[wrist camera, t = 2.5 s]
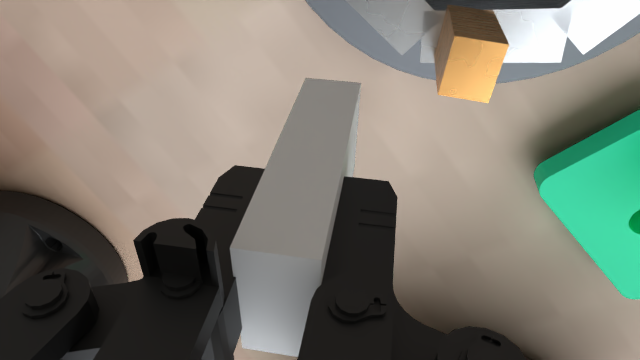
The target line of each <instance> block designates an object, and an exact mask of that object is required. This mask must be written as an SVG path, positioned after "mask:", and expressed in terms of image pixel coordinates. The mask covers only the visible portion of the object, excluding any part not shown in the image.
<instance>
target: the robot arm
mask: <svg viewBox="0 0 640 360" xmlns="http://www.w3.org/2000/svg"><path fill="white" fill-rule="evenodd" d="M360 89H361V83H357V82H345V81H334V80H323V79H312V78H305V81H304V83H303V85H302V87H301V90H300V92H299V94H298V96H297V99H296V101H295V103H294V105H293V108H292V110H291V112H290V114H289V116H288V119H287V121H286V123H285V125H284V128H283V130H282V132H281V134H280V137H279V139H278V141H277V143H276V146H275V148H274V150H273V152H272V154H271V157H270V159H269V161H268V163H267V166H266V168H265V169H262V168H253V167H244V166H236V165H235V166H234V167H232V168H231V169H230V170H228V171H227V172H226V173H224V174H223V175H222V176H220V177H219V178H218V180H217V182H216V183H215V185H214V187H213V189H212V191H211V192H210V196H208V198H207V199H206V201H205V203H204V205H203V208H201V210H200V212H199V213H198V215H197V217H196V219H195V220H193V219H189V218H176V219H170V220H166V221H162V222H158V223H156V224H154V225H152V226H150V227H149V228H147V229H145V230H143V231H142V232H141V233H140V234H139V235H138V236H137V237H136V238H135V239H134V240H133V241H134V245H135V248H136V252H137V255H138V258H139V262H140V265H141V269H142V272H143V275H144V277H143V278H142V279H140V280H137V281H132V282H128V277H127V273H126V270H125V267H124V265H123V263H122V261H121V259H120V257H119V256H118V254H117V253H116V251H115V250H114V249H113V247H112V246H111V245H110V244H109V242H108V241H107V240H106V239H105V238H104V237H103V236H102V235H101V234H100V233H99V232H98V231H96V230H95V229H94V228H93V227H92V226H90V225H89V224H88V223H87V222H85V221H84V220H82V219H81V218H79V217H78V216H76V215H75V214H73V213H71V212H70V211H68V210H66V209H64V208H62V207H60V206H58V205H56V204H54V203H52V202H49V201H47V200H44V199H41V198H38V197H35V196H32V195H28V194H23V193H18V192H11V191H0V360H234V356H233V353H234V350H235V348H236V345H237V342H238V339H239V336H240V333H241V340H242V347H243V348H245V349H251V350H257V351H264V352H270V353H276V354H282V355H289V356H295V357H298V359H297V360H527V359H526V358H525V356H524V355H523V354H522V352H521V351H520V349H519V348H518V347H517V346H516V345H515V344H513V343H512V342H511V341H510V340H508V339H507V338H506V337H505V336H503V335H501V334H498V333H496V332H494V331H491V330H489V329H487V328H479V327H470V326H469V327H464V328H460V329H456V330H453V331H452V332H451V333H450V334H448V335H446V334H444V333H441V332H439V331H437V330H435V329H432V328H430V327H428V326H426V325H424V324H422V323H420V322H419V321H417V320H415V319H413V318H412V317H411V316H410V315H409V314H408V313H406V312H405V311H404V310H403V308H402V307H401V306H400V304H399V303H398V302H397V299H396V297H395V295H394V292H393V266H394V248H395V228H396V211H397V196H396V194H395V192H394V190H393V188H392V187H391V185H390V183H389V181H381V180H372V179H363V178H354V177H353V172H354V166H355V153H356V140H357V127H358V114H359V102H360Z"/></svg>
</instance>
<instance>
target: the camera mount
mask: <svg viewBox="0 0 640 360" xmlns="http://www.w3.org/2000/svg"><path fill="white" fill-rule="evenodd" d="M534 179H535V182H536V185H537V188H538V190H539V193H540V196H541V197H542V199H543V200H544V201H545V202H546V204H547V205H548V206H549V207H550V208H551V210H552V211H553V212H554V213H555V214H556V216H557V217H558V218H559V219H560V220H561V222H562V223H563V224H564V225H565V227H566V228H567V229H568V230H569V231H570V233H571V234H572V235H573V236H574V237H575V239H576V240H577V241H578V242H579V243H580V245H581V246H582V247H583V248H584V250H585V251H586V252H587V253H588V254H589V256H590V257H591V258H592V259H593V260H594V262H595V263H596V264H597V265H598V266H599V268H600V269H601V270H602V271H603V273H604V274H605V275H606V276H607V277H608V279H609V280H610V281H611V282H612V283H613V285H614V286H615V287H616V288H617V289H618V291H619V292H620V293H621V294H622V295H623V296H624V297H626V298H629V299H640V110H638V111H636V112H634V113H632V114H630V115H628V116H627V117H625V118H623V119H621V120H619V121H617V122H615V123H614V124H612V125H610V126H608V127H606V128H604V129H603V130H601V131H599V132H597V133H595V134H593V135H591V136H590V137H588V138H586V139H584V140H582V141H580V142H578V143H577V144H575V145H573V146H571V147H569V148H567V149H565V150H564V151H562V152H560V153H558V154H556V155H554V156H553V157H551V158H549V159H547V160H545V161H543V162H542V163H540V164H539V165H538V166H537V168H536V169H535V171H534Z"/></svg>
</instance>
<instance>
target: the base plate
mask: <svg viewBox="0 0 640 360" xmlns="http://www.w3.org/2000/svg"><path fill="white" fill-rule="evenodd" d="M306 2H307V3H308V5H309V6H310V7H311V8H312V9H313V10H314V11H315V12H316V13H317V14H318V15H319V16H320V18H321V19H322V20H323V21H324V22H325V23H326V24H327V25H328V26H329V27H330V28H331V29H333V30H334V31H335V32H336V33H337V34H339V35H340V36H341V37H342V38H343V39H345V40H346V41H347V42H348V43H349V44H351V45H352V46H354V47H356V48H357V49H359V50H360V51H362V52H364V53H365V54H367V55H368V56H370V57H371V58H373V59H375V60H377V61H380V62H382V63H384V64H386V65H388V66H390V67H392V68H395V69H397V70H400V71H403V72H406V73H409V74H412V75H416V76H419V77H422V78H427V79H432V80H436V72H435V63H420V48H419V42H420V40H418V41H417V42H416V43H415V44H414V45H413V46H412V47H411V48H410V49H409V50H408V51H407V52H405V53H404V54H403V55H401V54H400V53H399V52H398V51H397V50H396V49H395V48H394V47H393V46H392V45H391V44H390V43H389V42H387V41H386V40H385V39H384V38H383V37H382V36H381V35H380V34H379V33H378V32H377V31H376V30H375V29H374V28H373V27H372V26H371V25H370V24H369V23H368V22H367V21H366V20H365V19H364V18H363V17H362V16H361V15H360V14H359V13H358V12H357V11H356V10H355V9H354V8H353V7H352V6H351V5H350V4H349V3H348V2H347V1H346V0H306ZM639 32H640V14H638V15H637V16H636V17H634V18H633V19H631V20H630V21H629V22H627V23H626V24H625V25H623V26H622V27H620V28H619V29H618V30H616V31H615V32H614V33H612V34H611V35H610V36H608V37H607V38H605V39H604V40H603V41H601V42H600V43H599V44H597V45H596V46H594V47H593V48H592V49H590V50H589V51H588V52H586V53H585V54H582V53H581V52H580V50H579V49H578V48H577V47H576V46H575V44H574V43H573V42H572V41H571V40H570V39H569V37H568V36H567V38H566V42H565V47H564V51H563V55H562V59H561V62H556V63H502V66H501V69H500V72H499V75H498V77H497V80H496V83H506V82H512V81H517V80H523V79H529V78H535V77H538V76H542V75H545V74H549V73H553V72H556V71H560V70H563V69H566V68H568V67H571V66H574V65H576V64H579V63H581V62H584V61H586V60H589V59H591V58H594V57H596V56H598V55H600V54H602V53H604V52H606V51H608V50H610V49H611V48H613V47H615V46H617V45H619V44H621V43H623V42H625V41H627V40H628V39H630V38H632V37H633V36H635V35H636V34H638V33H639Z"/></svg>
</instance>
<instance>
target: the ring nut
mask: <svg viewBox="0 0 640 360" xmlns="http://www.w3.org/2000/svg"><path fill="white" fill-rule="evenodd" d="M346 1H347V2H348V3H349V4H350V5H351V6H352V7H353V8H354V9H355V10H356V11H357V12H358V13H359V14H360V15H361V16H362V17H363V18H364V19H365V20H366V21H367V22H368V23H369V24H370V25H371V26H372V27H373V28H374V29H375V30H376V31H377V32H378V33H379V34H380V35H381V36H382V37H383V38H384V39H385V40H386V41H387V42H389V43H390V44H391V45H392V46H393V47H394V48H395V49H396V50H397V51H398V52H399V53H400V54H401V55H403V54H404V53H405V52H407V51H408V50H409V49H410V48H411V47H412V46H413V45H414V44H415V43H416V42H417V41H418V40H420V42H419V48H420V63H435V72H436V82H437V91H438V95H443V96H449V97H455V98H461V99H467V100H473V101H479V102H485V103H488V102H489V100H490V97H491V94H492V91H493V88H494V86H495V83H496V80H497V77H498V75H499V72H500V69H501V66H502V63H556V62H561V59H562V55H563V51H564V47H565V42H566V38H567V36H568V37H569V39H570V40H571V41H572V42H573V43H574V44H575V46H576V47H577V48H578V49H579V50H580V52H581V53H582V54H585V53H586V52H588V51H589V50H590V49H592V48H593V47H594V46H596V45H597V44H599V43H600V42H601V41H603V40H604V39H605V38H607V37H608V36H610V35H611V34H612V33H614V32H615V31H616V30H618V29H619V28H620V27H622V26H623V25H625V24H626V23H627V22H629V21H630V20H631V19H633V18H634V17H636V16H637V15H638V14H640V0H346Z"/></svg>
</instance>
